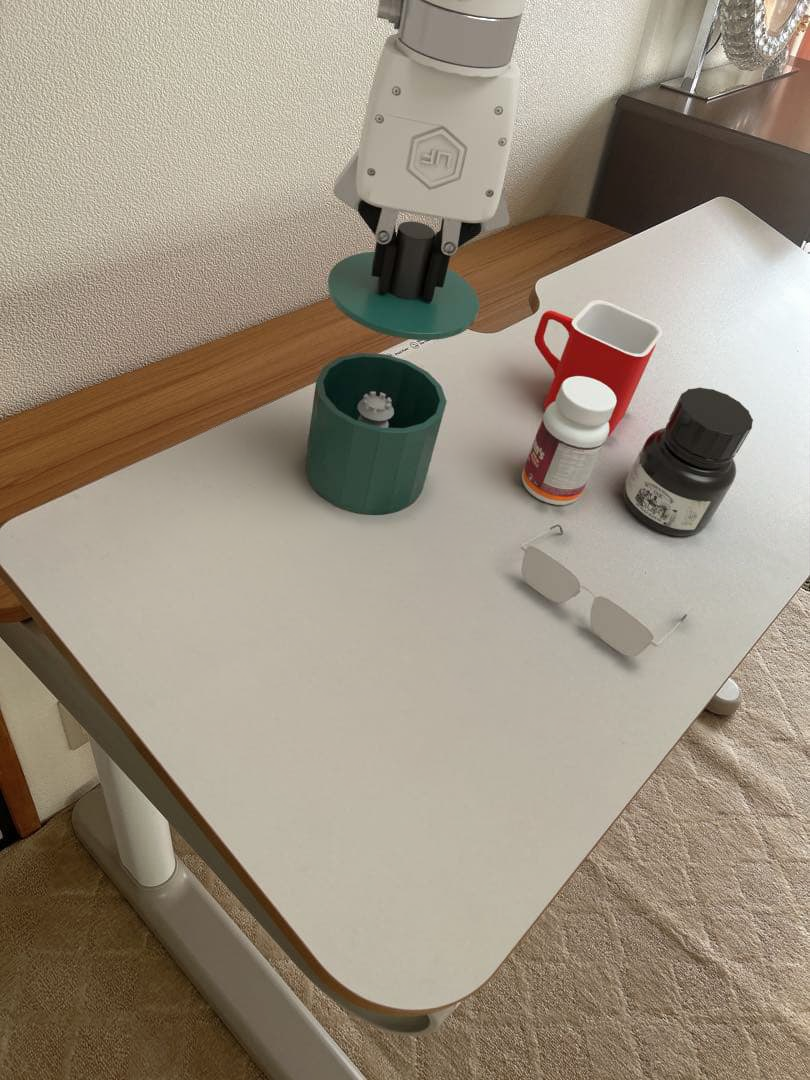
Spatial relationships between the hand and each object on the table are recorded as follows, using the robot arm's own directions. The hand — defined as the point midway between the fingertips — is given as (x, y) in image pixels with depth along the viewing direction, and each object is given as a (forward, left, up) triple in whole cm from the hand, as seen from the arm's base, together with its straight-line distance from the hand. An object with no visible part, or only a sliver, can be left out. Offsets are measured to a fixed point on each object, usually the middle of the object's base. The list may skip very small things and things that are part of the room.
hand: (405, 286), depth 69 cm
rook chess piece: (0, 0, -19) cm, 19 cm away
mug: (+9, +26, -20) cm, 34 cm away
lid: (0, 0, -1) cm, 1 cm away
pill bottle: (+14, +12, -20) cm, 27 cm away
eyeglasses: (+24, +2, -20) cm, 31 cm away
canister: (0, 0, -20) cm, 20 cm away
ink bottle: (+24, +18, -20) cm, 36 cm away
